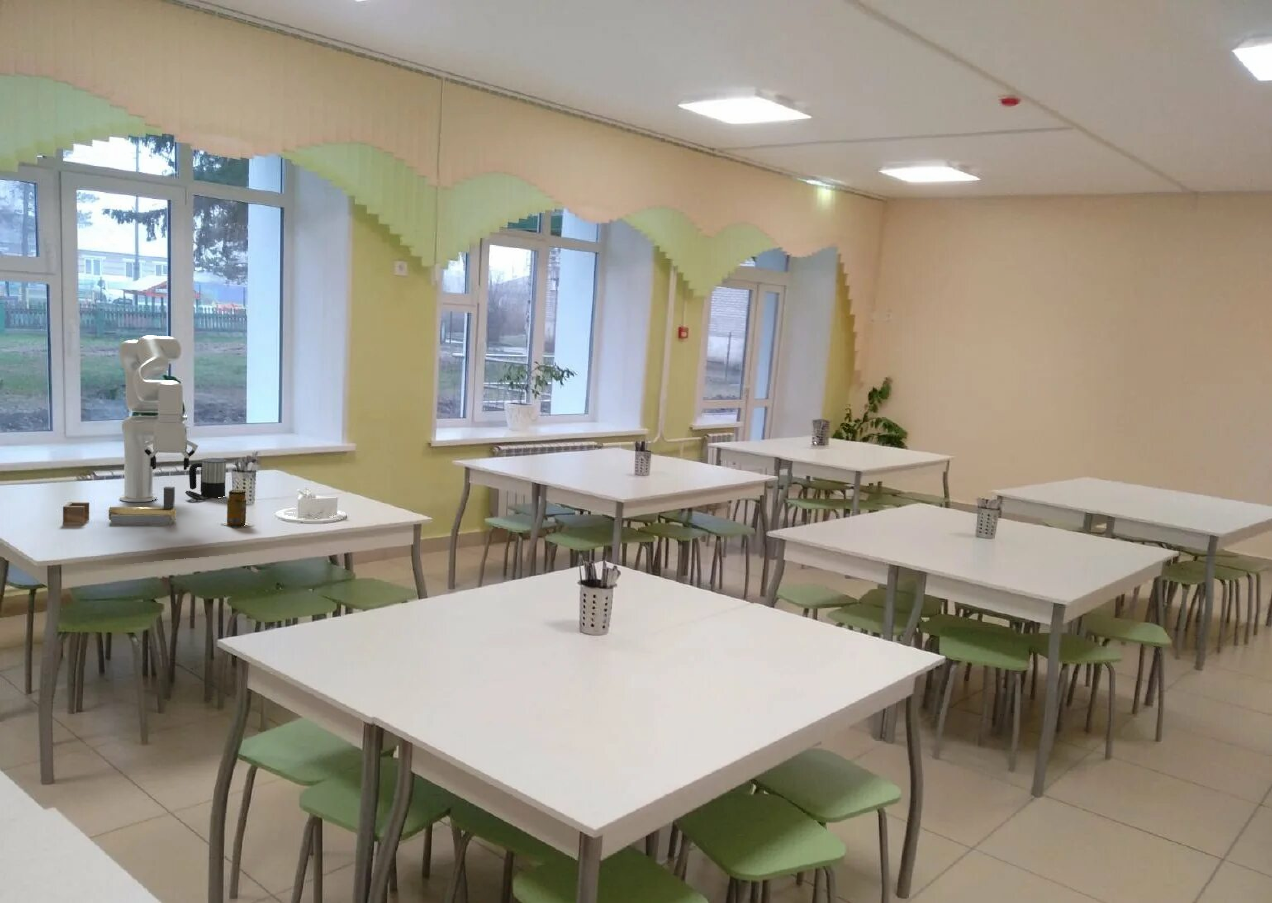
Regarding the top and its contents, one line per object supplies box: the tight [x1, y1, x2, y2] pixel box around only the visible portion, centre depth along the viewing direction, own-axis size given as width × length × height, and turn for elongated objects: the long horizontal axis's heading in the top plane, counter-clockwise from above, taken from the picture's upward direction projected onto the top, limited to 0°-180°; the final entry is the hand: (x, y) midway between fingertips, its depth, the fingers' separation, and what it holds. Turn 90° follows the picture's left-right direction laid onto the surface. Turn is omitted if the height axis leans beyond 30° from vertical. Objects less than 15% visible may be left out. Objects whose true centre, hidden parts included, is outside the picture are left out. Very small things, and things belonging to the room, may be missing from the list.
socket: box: [62, 501, 90, 526], centre depth 319 cm, size 8×6×6 cm
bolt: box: [108, 486, 177, 521], centre depth 325 cm, size 4×20×11 cm, turn 108°
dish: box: [274, 484, 347, 524], centre depth 354 cm, size 25×25×11 cm
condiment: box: [221, 489, 254, 529], centre depth 331 cm, size 7×8×12 cm
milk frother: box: [184, 457, 228, 501], centre depth 372 cm, size 14×16×15 cm
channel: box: [110, 514, 175, 526], centre depth 325 cm, size 8×18×3 cm, turn 108°
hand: (169, 469), depth 325 cm, fingers open, 9 cm apart
